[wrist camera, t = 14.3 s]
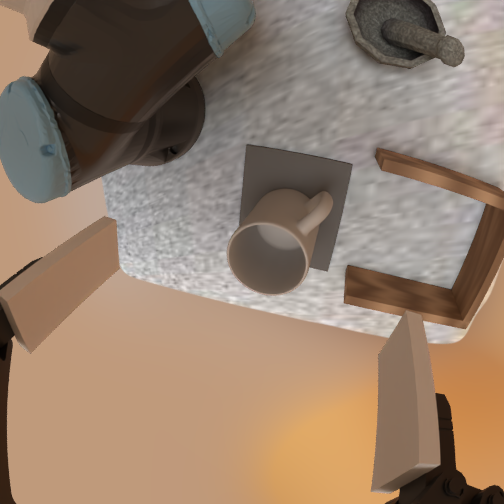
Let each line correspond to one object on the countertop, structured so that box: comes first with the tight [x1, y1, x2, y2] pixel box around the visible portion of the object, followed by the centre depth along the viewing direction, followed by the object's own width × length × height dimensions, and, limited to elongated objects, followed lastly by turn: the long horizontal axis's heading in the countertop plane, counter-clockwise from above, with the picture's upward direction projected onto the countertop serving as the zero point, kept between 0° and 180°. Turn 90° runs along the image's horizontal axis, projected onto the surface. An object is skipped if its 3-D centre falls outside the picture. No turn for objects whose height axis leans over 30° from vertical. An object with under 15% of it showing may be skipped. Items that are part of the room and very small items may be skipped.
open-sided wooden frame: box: [344, 148, 504, 329], centre depth 32 cm, size 18×17×7 cm
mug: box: [227, 189, 333, 295], centre depth 34 cm, size 12×8×11 cm
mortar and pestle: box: [346, 0, 465, 69], centre depth 20 cm, size 11×9×12 cm
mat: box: [239, 145, 352, 271], centre depth 39 cm, size 13×15×1 cm
